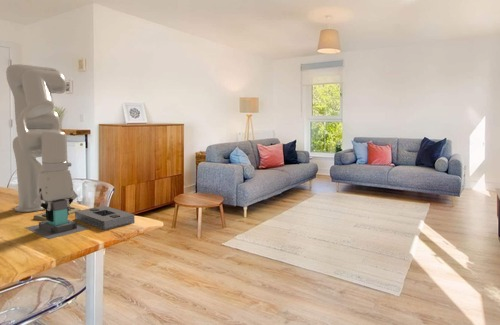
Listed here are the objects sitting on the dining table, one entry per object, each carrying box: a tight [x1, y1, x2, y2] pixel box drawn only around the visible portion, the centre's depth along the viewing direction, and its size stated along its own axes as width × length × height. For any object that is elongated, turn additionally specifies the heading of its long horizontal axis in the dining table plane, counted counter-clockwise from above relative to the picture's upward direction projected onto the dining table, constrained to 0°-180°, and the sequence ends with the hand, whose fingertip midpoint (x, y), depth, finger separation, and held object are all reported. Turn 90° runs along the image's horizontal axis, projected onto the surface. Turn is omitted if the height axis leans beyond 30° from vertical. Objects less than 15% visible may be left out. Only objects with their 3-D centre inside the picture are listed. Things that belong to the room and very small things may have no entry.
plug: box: [48, 199, 69, 226], centre depth 117 cm, size 6×4×10 cm, turn 54°
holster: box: [24, 219, 92, 240], centre depth 117 cm, size 18×14×3 cm
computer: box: [32, 206, 82, 221], centre depth 134 cm, size 16×8×3 cm, turn 165°
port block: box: [74, 205, 135, 231], centre depth 127 cm, size 20×12×4 cm, turn 54°
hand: (57, 218), depth 117 cm, fingers closed on plug, 4 cm apart
